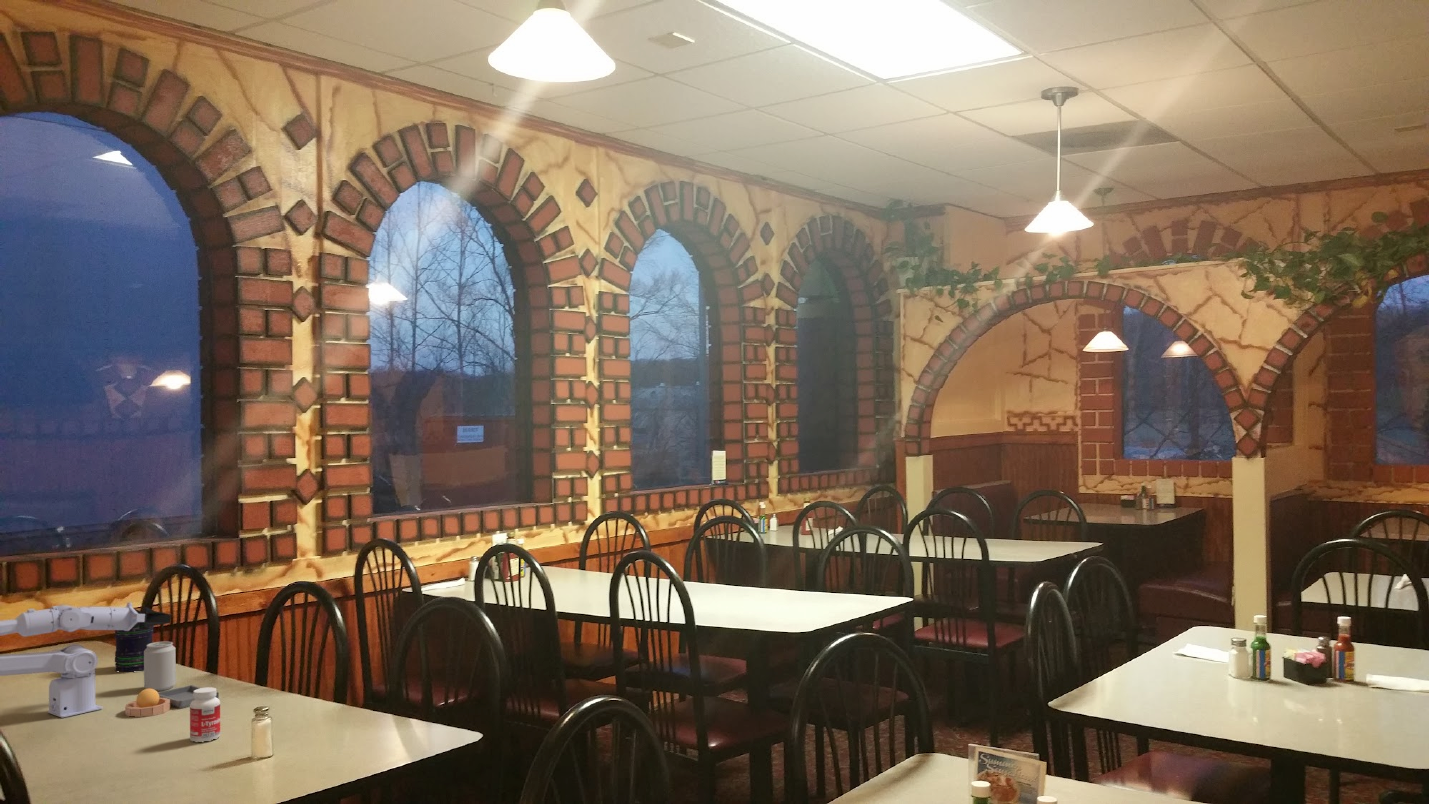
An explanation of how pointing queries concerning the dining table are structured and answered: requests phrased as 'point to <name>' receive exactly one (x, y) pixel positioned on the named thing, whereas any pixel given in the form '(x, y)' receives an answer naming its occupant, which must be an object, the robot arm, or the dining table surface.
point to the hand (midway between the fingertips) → (164, 618)
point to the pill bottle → (204, 715)
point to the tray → (181, 696)
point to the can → (160, 666)
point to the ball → (147, 698)
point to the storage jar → (131, 648)
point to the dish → (147, 708)
